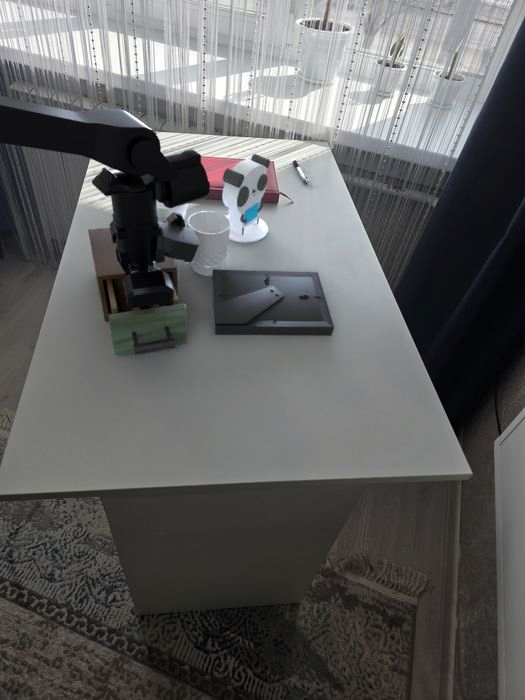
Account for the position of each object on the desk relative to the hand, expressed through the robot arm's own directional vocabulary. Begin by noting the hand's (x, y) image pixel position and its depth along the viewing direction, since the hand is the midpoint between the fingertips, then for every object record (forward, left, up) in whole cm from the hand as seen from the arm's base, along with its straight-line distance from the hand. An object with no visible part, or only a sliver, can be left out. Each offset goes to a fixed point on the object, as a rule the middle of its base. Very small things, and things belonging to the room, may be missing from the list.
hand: (143, 302), depth 74 cm
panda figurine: (+26, +28, -7) cm, 39 cm away
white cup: (+15, +16, -7) cm, 23 cm away
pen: (+50, +51, -6) cm, 72 cm away
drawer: (0, -1, -6) cm, 6 cm away
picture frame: (+23, +2, -7) cm, 24 cm away
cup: (+9, +28, -7) cm, 30 cm away
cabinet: (0, +11, -6) cm, 13 cm away
